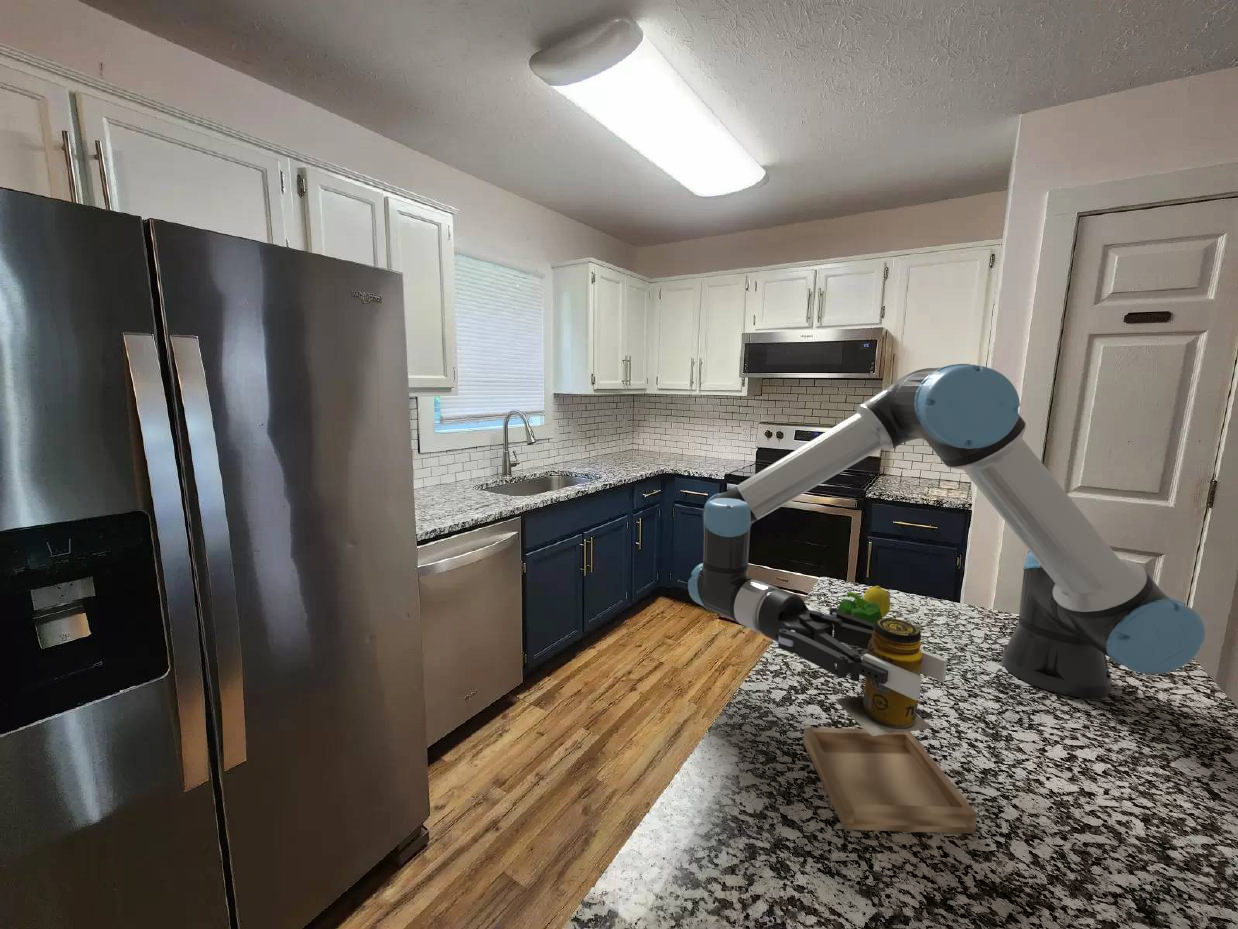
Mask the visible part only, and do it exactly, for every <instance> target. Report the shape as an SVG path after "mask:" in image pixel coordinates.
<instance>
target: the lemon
mask: <svg viewBox="0 0 1238 929" xmlns="http://www.w3.org/2000/svg"><path fill="white" fill-rule="evenodd" d="M862 599H864V600H866V601H867V602H869V603H874V604H878V606H879V608H880V612H881V615H882V618H886V616H887V615H888V614H889V612H890V609H891V598H890V595H889V593H888V592H887V591H886V589H884V588H882V587H881V586H879V585H876V586H872V587H870V588H868V589H866V591H865V592H864V595H863V598H862Z"/></svg>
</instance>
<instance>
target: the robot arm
mask: <svg viewBox="0 0 1238 929" xmlns="http://www.w3.org/2000/svg"><path fill="white" fill-rule="evenodd" d="M1017 391H1018V390H1017V389H1016V387H1015V385H1014V384H1013V383H1012V381H1010V380H1009V378H1007V377H1006V376H1005V375H1004V374H1002V373H1001V372H999V371H997V370H996V369H993V368H990V367H987V366H982V365H978V364H970V363H957V364H956V363H955V364H949V365H946V366H942V367H928V368H922V369H917V370H915V371H912V372H910V373H908V374H905V375H904V376H902V377H900V378H899V379H897V380H896V381H894V382H893V383H891V384H890V385H888V386H887V387H885V388H883V390H881V391H879V392H877V393H876V394H875V395H873V396H872V397H870V398H869V399H867V400H865V401H864V402H862V403H860V404H858V405H857V410H856V413H855V414H854V415H851V416H850V417H848V418H847V419H844V420H843V421H841V422H840V423H838V424H837V425H835V426H834V427H832V428H830V429H828V430H826V431H825V432H823V433H822V434H820V435H819V436H817V437H815V438H813V439H812V440H810V441H808V442H807V443H805V444H804V445H802V446H800V447H798V448H796V449H795V450H794V451H792V452H790V453H789V454H787V455H786V456H784V457H782V458H781V459H778V460H777V461H776V462H773V463H772V464H770V465H768V466H767V467H766V468H764V469H762V470H760V471H759V472H757V473H755V474H754V475H752V476H750V477H749V478H747V479H746V480H745V479H744V481H742V482H740V483H739V484H737V485H736V486H734V487H733V488H731V489H729V490H728V491H726V492H721V493H715V494H713V495H712V496H711V497H710V498H708V499H707V500H706V503H705V504H704V507H703V509H702V521H703V560H702V563H699V564H697V565H696V566H695V567H694V568H693V570H692V571H691V577H690V578H689V579H688V583H687V590H688V592H689V593H688V594H689V596H690V598H691V599H692V601H694V602H695V603H696V604H698V605H700V606H702V607H703V608H705V609H706V610H708V611H709V612H712V613H716V614H718V615H720V616H723V617H725V618H727V619H729V620H732V621H734V622H735V623H738V624H740V625H742V626H744V627H746V628H749V630H752V632H755V633H759V634H761V635H763V636H765V637H766V638H769V639H771V640H773V641H775V642H777V643H778V644H777V647H778V648H779V649H781V650H783V651H787V652H789V653H792V654H794V655H796V656H798V657H800V658H803V659H804V660H806V661H808V662H809V663H812V664H813V665H815V666H817V667H819V668H821V669H823V670H825V671H827V672H829V673H830V674H833V675H834V676H837V677H839V678H841V679H846V678H847V677H848V675H849V674H850V675H849V676H850V677H849V680H850V681H851V682H859V681H860V676H862V677H864V678H865V677H866V678H868V679H871V680H873V681H875V682H877V683H879V684H881V685H884V686H886V687H888V688H890V689H892V690H894V691H897V692H899V693H901V694H903V695H905V696H907V697H910V698H912V699H914V700H916V701H917V700H918V701H919V699H921V698H920V697H921V690H922V689H921V686H922V678H923V676H921V675H920V676H919V675H916V674H914V673H912V672H909V671H907V670H905V669H902V668H900V667H898V666H895V665H893V664H890V663H888V662H886V661H883V660H881V659H879V658H876V657H874V656H872V655H869V654H867V652H866V653H865V654H863V656H861V654H859V653H858V652H856V651H854V649H852V648H850V647H849V646H847V645H850V646H853V647H856V648H861V649H863V650H867V651H868V643H869V641H870V640H871V638H872V633H873V630H874V629H873V625H874V623H871V622H868V621H865V620H862V619H859V618H857V617H854V616H851V615H848V614H845V613H843V612H841V611H839V610H838V609H837V608H835V607H830V608H829V613H826V614H824V613H823V612H821V611H818V610H811V609H809V608H808V606H807V604H806V602H805V601H804V599H803V597H801V596H800V595H798V594H795V593H792V592H789V591H786V590H784V589H780V588H779V587H777V586H775V585H772V584H769V583H765V582H762V581H760V580H758V579H755V578H752V577H749V576H748V574H749V554H750V553H749V552H750V551H749V550H750V535H751V527H752V524H753V523H755V522H757V521H759V520H760V519H761V518H764V517H765V516H767V515H769V514H771V513H772V512H774V511H775V510H778V509H779V508H781V507H782V506H784V505H786V504H788V503H789V502H791V501H793V500H795V499H797V498H798V497H800V496H802V495H804V494H806V493H807V492H809V491H810V490H812V489H813V488H816V487H817V486H819V485H821V484H823V483H824V482H826V481H828V480H829V479H831V478H833V477H834V476H837V475H838V474H840V473H841V472H844V471H845V470H847V469H848V468H850V467H853V466H854V465H855V464H857V463H859V462H860V461H862V460H864V459H866V458H867V457H869V456H871V455H873V454H874V453H876V452H878V451H880V450H885V451H891V450H893V449H895V448H897V447H898V446H900V445H902V444H905V443H907V442H910V441H913V440H919V439H923V440H924V441H925V442H926V443H927V444H928V445H929V447H930V448H931V449H932V450H933V451H934V453H935V454H936V455H937V456H938V458H939V459H940V460H941V461H942V463H944V465H945V466H946V467H947V468H950V469H953V470H963V471H964V472H965V474H966V475H967V477H969V479H970V480H971V481H972V482H973V484H974V485H976V487H977V488H978V490H979V491H980V493H981V494H982V495H983V496H984V497H985V498H986V500H987V501H988V502H989V503H990V504H991V506H992V507H993V508H994V509H995V511H996V512H997V513H998V514H999V515H1000V517H1001V518H1002V519H1003V520H1004V521H1005V524H1007V526H1008V527H1009V528H1010V529H1011V530H1012V531H1013V533H1014V534H1015V535H1016V536H1017V538H1018V539H1019V540H1020V541H1021V543H1022V544H1023V545H1024V547H1025V548H1026V549H1027V550H1028V553H1027V554H1026V557H1025V562H1024V565H1023V567H1022V570H1023V574H1022V575H1023V577H1022V586H1021V594H1020V604H1019V613H1018V614H1019V615H1018V621H1017V625H1016V628H1014V632H1013V633H1012V635H1011V637H1010V638H1009V640H1008V642H1007V644H1006V645H1005V646H1004V648H1003V650H1002V658H1001V664H1002V665H1003V667H1004V668H1005V669H1006V670H1007V671H1008V672H1009V673H1011V674H1012V676H1013V675H1014V676H1015V677H1017V678H1018V679H1020V680H1022V681H1024V682H1026V683H1028V684H1030V685H1032V686H1035V687H1038V688H1040V689H1043V690H1046V691H1049V692H1052V693H1056V694H1060V695H1064V696H1069V697H1075V698H1083V699H1100V698H1104V697H1107V696H1108V695H1109V694H1110V693H1111V688H1112V683H1113V682H1112V681H1113V677H1112V674H1111V672H1110V669H1109V668H1110V667H1109V664H1108V660H1107V657H1108V658H1109V659H1110V660H1112V661H1113V662H1115V664H1118V665H1120V666H1124V667H1125V668H1127V669H1129V670H1131V671H1133V672H1136V673H1139V674H1147V675H1148V674H1150V675H1163V674H1168V673H1170V672H1174V671H1176V670H1178V669H1181V668H1183V667H1184V666H1186V665H1187V664H1189V663H1190V662H1191V661H1192V660H1194V659H1195V657H1196V656H1197V655H1198V654H1199V652H1200V651H1201V646H1202V645H1203V643H1204V642H1205V637H1206V627H1205V624H1204V622H1203V619H1202V618H1201V616H1200V615H1199V614H1198V613H1197V611H1196V610H1194V609H1193V608H1191V607H1190V606H1188V605H1186V603H1185V602H1183V601H1181V600H1178V599H1174V598H1170V597H1169V596H1168V595H1167V594H1166V593H1164V592H1163V591H1162V589H1161V588H1160V587H1159V586H1158V584H1157V583H1156V582H1155V581H1154V580H1153V579H1152V577H1151V576H1150V575H1149V573H1148V572H1147V571H1146V570H1145V568H1144V567H1143V566H1141V564H1139V563H1138V562H1135V561H1133V560H1130V559H1126V558H1119V556H1118V555H1117V554H1116V552H1115V551H1114V550H1113V549H1112V547H1111V546H1110V545H1109V544H1108V542H1107V541H1106V540H1105V539H1104V538H1103V537H1102V535H1101V534H1100V533H1099V532H1098V530H1097V529H1096V528H1095V526H1093V524H1092V523H1091V522H1090V520H1089V519H1088V517H1087V516H1085V514H1084V513H1083V512H1082V510H1081V509H1080V508H1079V507H1078V506H1077V504H1076V503H1075V502H1074V501H1073V499H1072V498H1071V497H1070V496H1069V494H1068V493H1067V492H1066V490H1065V489H1063V487H1062V486H1061V485H1060V483H1059V482H1058V481H1057V480H1056V478H1055V477H1054V476H1053V474H1052V473H1051V472H1050V471H1049V470H1048V468H1047V466H1046V465H1044V463H1043V462H1042V461H1041V460H1040V458H1039V457H1038V456H1037V455H1036V454H1035V452H1034V450H1033V449H1031V447H1030V446H1029V445H1028V443H1027V442H1026V441H1025V440H1024V438H1023V437H1024V434H1025V432H1026V429H1027V423H1026V422H1025V420H1024V419H1023V418H1022V416H1021V415H1020V413H1019V407H1021V402H1020V396H1019V394H1018V392H1017ZM920 650H921V652H922V667H921V674H923V675H925V676H928V677H929V678H932V679H935V680H937V681H938V682H941V683H943V682H944V681H946V673H947V666H948V659H947V658H944V657H942V656H939V655H937V654H934V653H931V652H929V651H928V650H924V649H922V648H920ZM862 657H863V658H862Z"/></svg>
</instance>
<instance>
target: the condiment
mask: <svg viewBox="0 0 1238 929" xmlns="http://www.w3.org/2000/svg"><path fill="white" fill-rule="evenodd" d="M873 629H874V630H873V633H872V638H871V640H870V641H869V643H868V650H867V652H866V653H867V654H869V655H872V656H874V657H876V658H879V659H881V660H883V661H886V662H888V663H890V664H893V665H895V666H898V667H900V668H902V669H905V670H907V671H909V672H912V673H914V674H916V675H919V676H921V674H922V673H921V667H922V652H921V650H922V649H921V637H922V633H921V630H920V629H919V627H917V626H916V625H914V624H913V623H911V622H909V621H907V620H903V619H898V618H893V617H890V618H889V617H883V618H881V619H877V620H876V621H875V623H874V625H873ZM920 649H921V650H920ZM863 687H864V688H863V696H855V697H847V698H845V697H844V698H843V697H840V698H836V699H835V698H834V699H835V701H836V702H837V703H838V705H839V706H841V708H842V709H843V710H844V711H845V712H846V713H847V714H848V715H849V716H850V717H851V718H852V719H853V720H854V722H856V723H858V724H859V726H861V727H862V729H865V730H866V731H867V732H868V733H869V734H870V735H871V736H876V735H884V734H891V733H898V732H909V731H910V732H917V731H923V730H929V729H932V728H933V725H930V724H929V723H927V721H925V720H924V719H923V718H922V717H920V716H919V715H917V714H918V713H917V712H918V703H919V699H918V700H917V701H916V700H914V699H912V698H910V697H907V696H905V695H903V694H901V693H899V692H897V691H894V690H892V689H890V688H888V687H886V686H884V685H881V684H879V683H877V682H875V681H873V680H871V679H868V678H866V677H864V686H863Z"/></svg>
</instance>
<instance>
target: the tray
mask: <svg viewBox="0 0 1238 929" xmlns="http://www.w3.org/2000/svg"><path fill="white" fill-rule="evenodd" d="M802 741H803V743H802V744H803V745H804V748H805V749H806V752H807V754H808V757H809V759H810V760H811V762H812V765H813V766H814V768H815V771H816V773H817V775H818V777H819V779H820V781H821V783H822V785H823V788H824V790H825V792H826V795H827V796H828V798H829V800H830V803H831V804H832V806H833V810H834V811H835V813H836V815H837V817H838V819H839V821H840V823H841V826H842V828H843V830H847V831H848V830H849V831H850V830H851V831H852V830H853V831H876V832H877V831H878V832H879V831H883V832H908V833H909V832H911V833H912V832H914V833H941V834H943V833H944V834H973V835H975V834H976V829H977V821H978V813H977V812H976V811H975V810H974V808H973V807H972V806H971V805H970V803H969V802H968V801H967V800H966V798H965V797H964V796H963V795H962V794H961V792H960V791H959V790H958V789H957V787H956V786H955V785H954V784H953V782H952V781H951V780H950V779H949V777H948V776H947V775H946V774H945V772H944V771H943V770H942V769H941V768H940V766H939V765H938V764H937V762H936V761H935V760H934V758H932V756H931V755H930V754H929V753H928V750H926V749H925V748H924V747H923V745H922V744H921V743H920V742H919V740H918V739H917V738H916V736H915V735H914V734H913V733H912V731H909V732H898V733H891V734H884V735H876V736H871V735H870V734H869V733H868V732H867V731H866V730H865V729H864V728H846V727H845V728H841V727H840V728H839V727H838V728H837V727H835V728H833V727H805V726H804V728H803V740H802Z"/></svg>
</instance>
